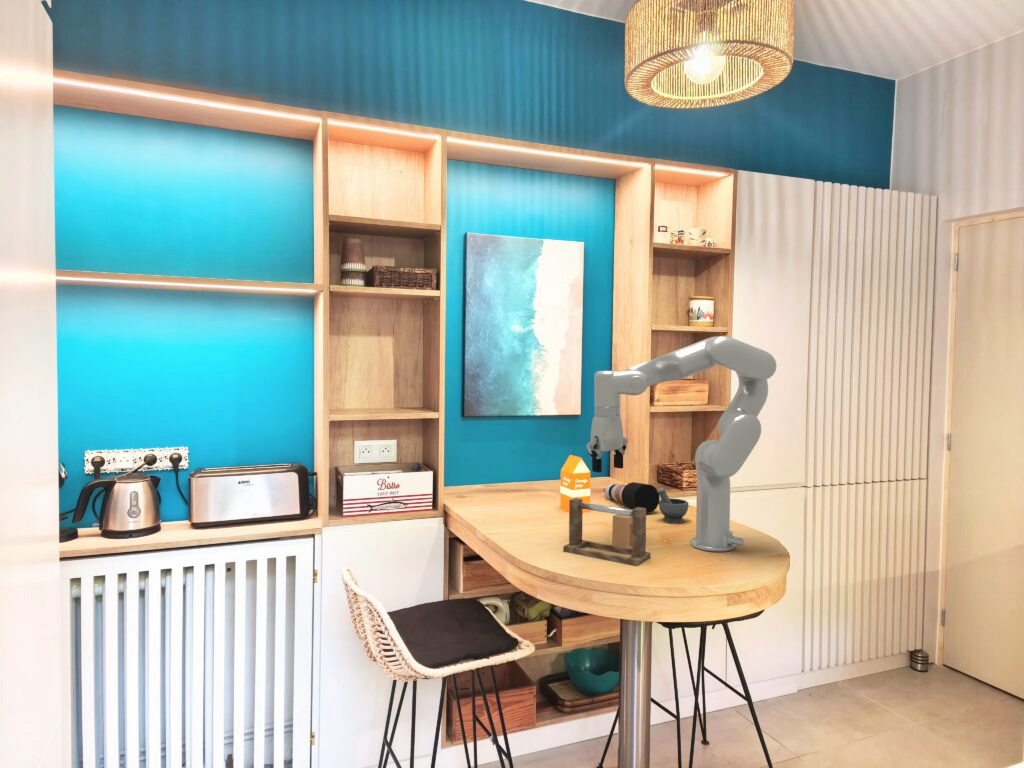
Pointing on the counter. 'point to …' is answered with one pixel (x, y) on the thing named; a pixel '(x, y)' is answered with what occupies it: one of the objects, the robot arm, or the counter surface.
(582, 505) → the rail
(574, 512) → the stand
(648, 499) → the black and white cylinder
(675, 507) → the mortar and pestle
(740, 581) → the counter surface
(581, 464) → the orange juice
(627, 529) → the u-slot holder
